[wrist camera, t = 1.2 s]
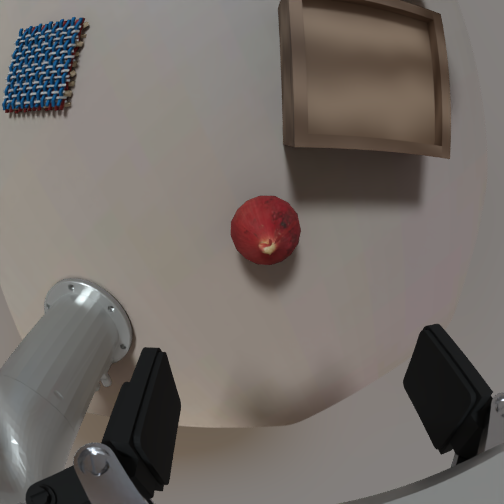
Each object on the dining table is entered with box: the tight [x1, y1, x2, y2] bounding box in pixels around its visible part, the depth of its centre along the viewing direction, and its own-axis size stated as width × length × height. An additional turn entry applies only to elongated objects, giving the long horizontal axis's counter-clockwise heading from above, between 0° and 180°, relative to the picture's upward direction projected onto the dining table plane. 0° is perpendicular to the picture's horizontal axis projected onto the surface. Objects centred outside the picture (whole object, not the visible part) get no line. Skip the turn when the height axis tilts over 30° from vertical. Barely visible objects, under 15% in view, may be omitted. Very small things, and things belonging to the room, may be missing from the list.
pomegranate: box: [231, 196, 301, 265], centre depth 25 cm, size 6×6×8 cm
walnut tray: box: [278, 0, 451, 159], centre depth 21 cm, size 14×14×6 cm
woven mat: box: [2, 17, 89, 113], centre depth 21 cm, size 10×11×2 cm
